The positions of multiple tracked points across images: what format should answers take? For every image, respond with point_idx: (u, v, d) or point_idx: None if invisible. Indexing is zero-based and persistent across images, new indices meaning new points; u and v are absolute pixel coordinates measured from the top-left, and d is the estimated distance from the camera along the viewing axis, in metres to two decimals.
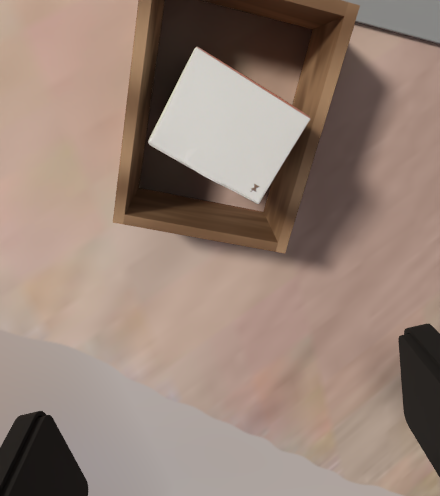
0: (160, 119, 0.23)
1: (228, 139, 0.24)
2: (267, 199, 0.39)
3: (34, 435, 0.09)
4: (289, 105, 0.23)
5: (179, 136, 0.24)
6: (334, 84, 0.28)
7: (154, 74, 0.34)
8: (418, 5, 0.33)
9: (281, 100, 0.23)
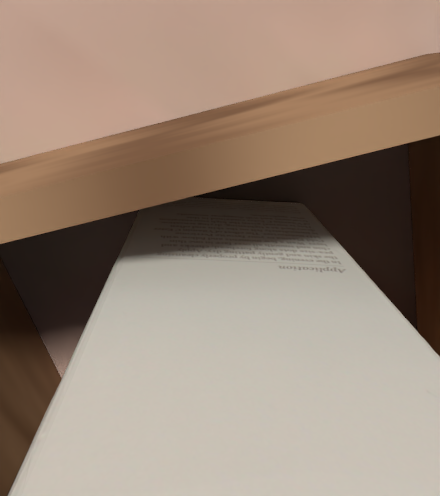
0: None
1: None
2: None
3: None
4: None
5: None
6: None
7: None
8: None
9: None
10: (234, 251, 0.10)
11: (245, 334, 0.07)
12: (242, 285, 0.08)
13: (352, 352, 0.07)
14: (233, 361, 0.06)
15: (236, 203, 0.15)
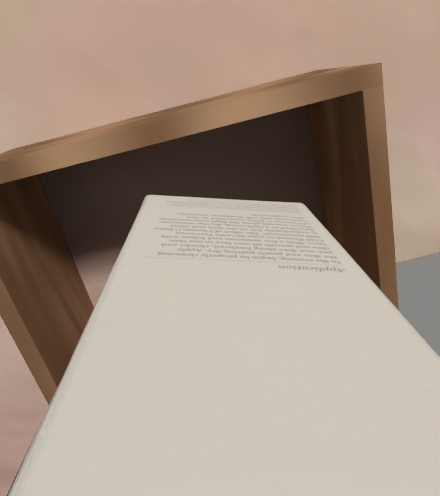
0: None
1: None
2: None
3: None
4: None
5: None
6: None
7: None
8: None
9: None
10: (234, 251, 0.10)
11: (244, 333, 0.07)
12: (241, 284, 0.09)
13: (351, 352, 0.07)
14: (232, 359, 0.06)
15: (236, 203, 0.15)
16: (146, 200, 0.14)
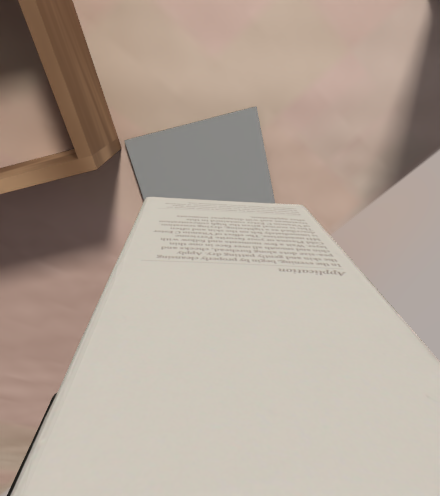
0: None
1: None
2: None
3: None
4: None
5: None
6: (14, 188, 0.23)
7: None
8: None
9: None
10: (234, 254, 0.10)
11: (244, 338, 0.07)
12: (241, 288, 0.08)
13: (352, 357, 0.07)
14: (232, 365, 0.06)
15: (236, 205, 0.15)
16: (146, 202, 0.14)
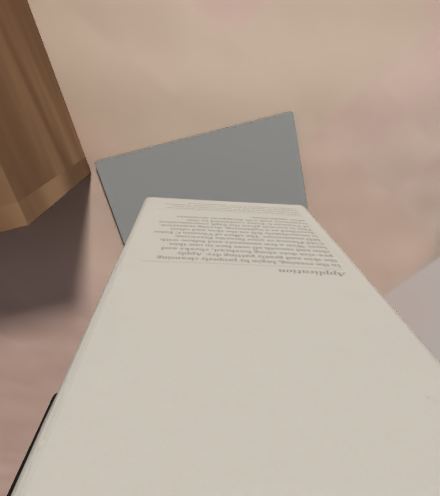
0: None
1: None
2: None
3: None
4: None
5: None
6: None
7: None
8: None
9: None
10: (234, 255, 0.10)
11: (245, 339, 0.07)
12: (241, 289, 0.08)
13: (352, 357, 0.07)
14: (232, 366, 0.06)
15: (236, 205, 0.15)
16: (146, 202, 0.14)
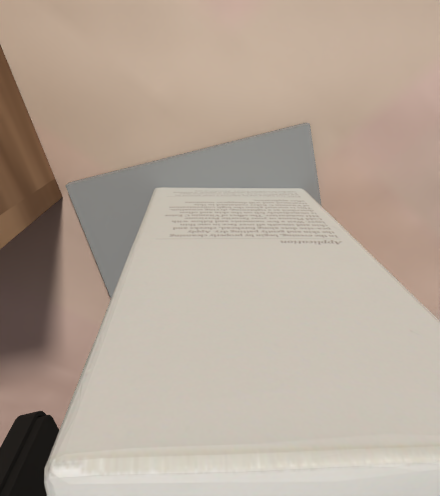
0: (194, 464, 0.04)
1: None
2: None
3: (34, 435, 0.09)
4: None
5: None
6: None
7: None
8: None
9: None
10: (239, 231, 0.11)
11: (251, 294, 0.08)
12: (247, 257, 0.09)
13: (346, 305, 0.07)
14: (242, 314, 0.07)
15: (239, 191, 0.15)
16: (155, 192, 0.15)
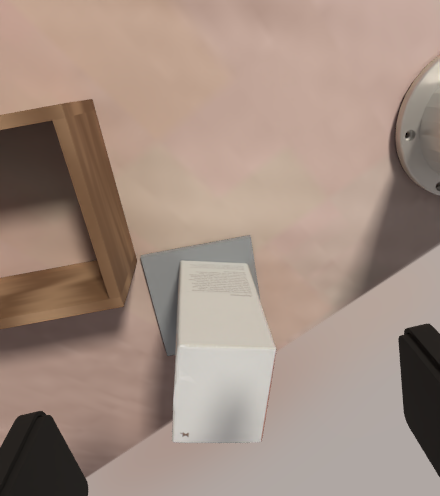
0: (204, 346, 0.24)
1: (215, 400, 0.26)
2: None
3: (34, 435, 0.09)
4: (263, 425, 0.27)
5: (197, 366, 0.24)
6: (56, 317, 0.29)
7: None
8: None
9: (264, 418, 0.27)
10: (217, 289, 0.31)
11: (218, 314, 0.28)
12: (218, 301, 0.29)
13: (244, 318, 0.27)
14: (215, 319, 0.27)
15: (218, 265, 0.35)
16: (182, 264, 0.35)
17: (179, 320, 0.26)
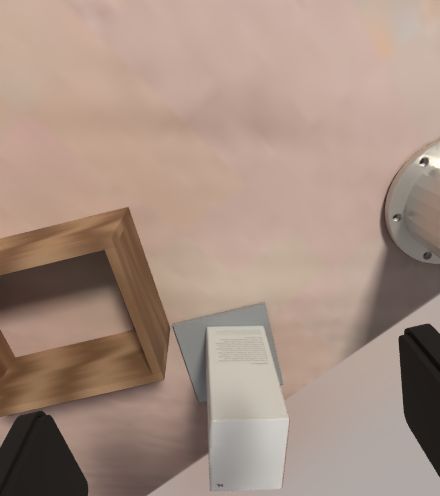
0: (232, 419, 0.30)
1: (243, 459, 0.32)
2: (26, 356, 0.43)
3: (34, 435, 0.09)
4: (283, 475, 0.33)
5: (227, 434, 0.31)
6: (111, 390, 0.35)
7: None
8: None
9: (283, 470, 0.33)
10: (239, 358, 0.37)
11: (241, 385, 0.34)
12: (241, 371, 0.36)
13: (262, 388, 0.34)
14: (239, 391, 0.33)
15: (239, 330, 0.42)
16: (208, 331, 0.41)
17: (210, 394, 0.33)
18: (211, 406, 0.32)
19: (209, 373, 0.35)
